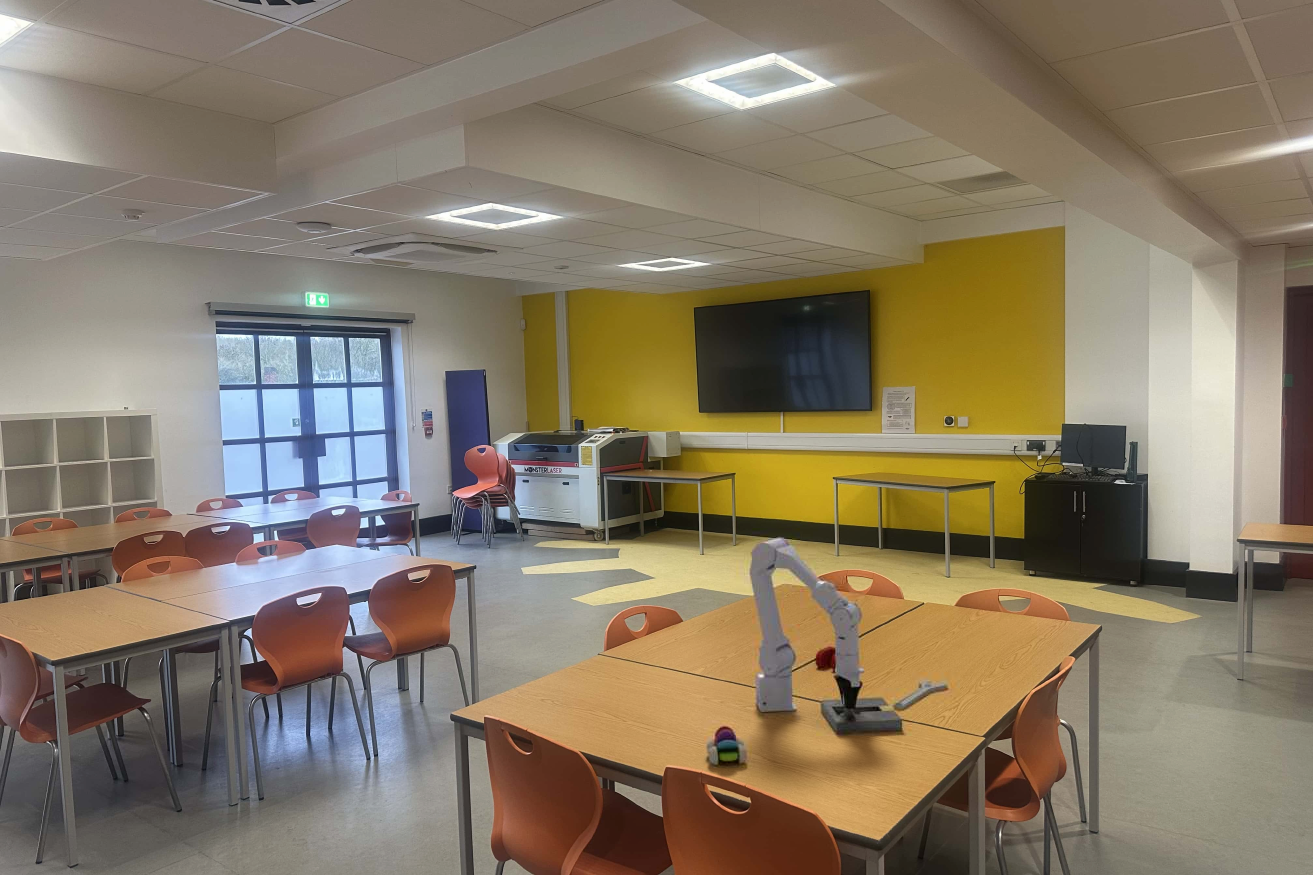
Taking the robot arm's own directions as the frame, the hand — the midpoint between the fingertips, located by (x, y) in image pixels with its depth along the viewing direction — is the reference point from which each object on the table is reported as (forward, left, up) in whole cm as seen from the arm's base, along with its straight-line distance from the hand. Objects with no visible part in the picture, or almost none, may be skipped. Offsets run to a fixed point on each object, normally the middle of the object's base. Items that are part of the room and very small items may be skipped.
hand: (848, 706), depth 215 cm
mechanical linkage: (+10, +47, -4) cm, 49 cm away
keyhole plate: (+3, 0, -4) cm, 5 cm away
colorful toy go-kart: (-33, -19, -4) cm, 38 cm away
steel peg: (0, 0, -3) cm, 3 cm away
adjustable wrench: (+23, +16, -4) cm, 28 cm away
